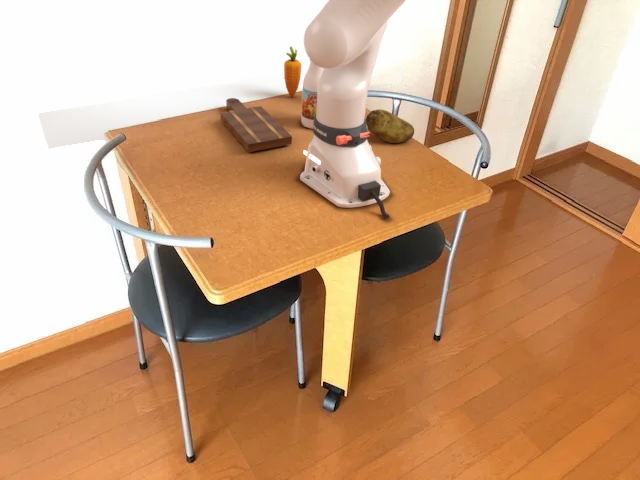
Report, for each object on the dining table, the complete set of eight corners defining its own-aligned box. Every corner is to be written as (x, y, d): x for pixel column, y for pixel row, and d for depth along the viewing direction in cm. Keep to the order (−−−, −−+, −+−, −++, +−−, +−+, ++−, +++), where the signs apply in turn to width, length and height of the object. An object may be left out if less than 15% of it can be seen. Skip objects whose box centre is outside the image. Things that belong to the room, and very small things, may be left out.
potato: (408, 151, 145) (413, 122, 140) (361, 141, 147) (364, 113, 142) (414, 137, 151) (418, 110, 146) (368, 129, 154) (371, 102, 149)
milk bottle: (296, 119, 156) (299, 48, 144) (321, 116, 159) (325, 46, 147) (307, 131, 150) (311, 58, 138) (333, 127, 153) (338, 55, 141)
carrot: (299, 101, 166) (301, 51, 157) (282, 100, 166) (283, 50, 157) (300, 94, 170) (302, 45, 161) (284, 93, 170) (285, 44, 161)
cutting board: (291, 146, 143) (292, 135, 141) (248, 155, 138) (248, 144, 136) (250, 105, 162) (249, 94, 160) (210, 111, 157) (210, 100, 155)
